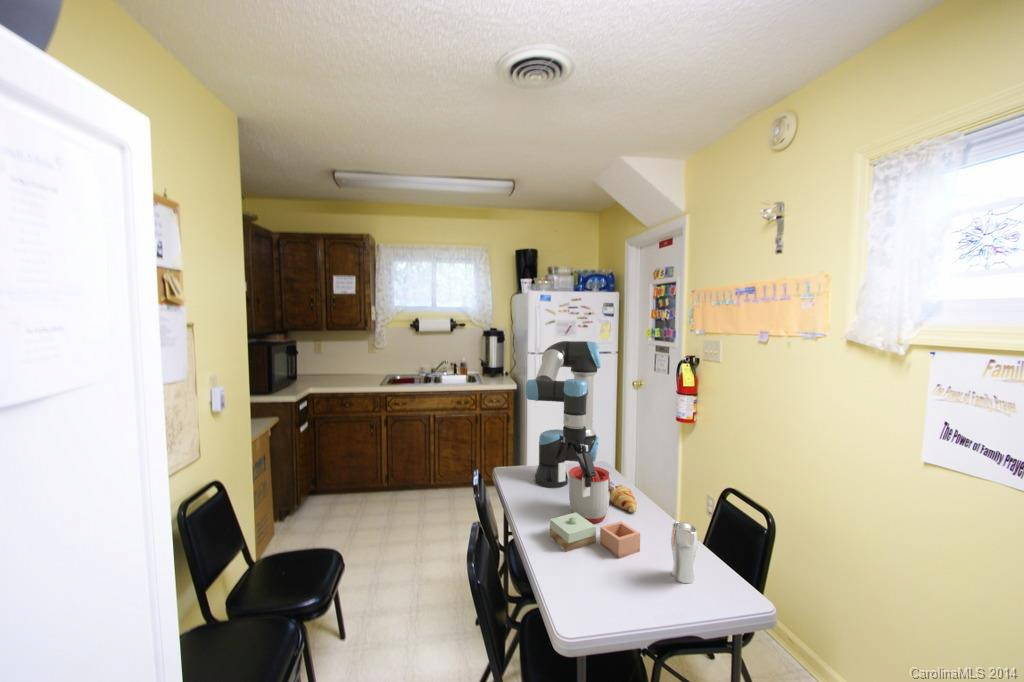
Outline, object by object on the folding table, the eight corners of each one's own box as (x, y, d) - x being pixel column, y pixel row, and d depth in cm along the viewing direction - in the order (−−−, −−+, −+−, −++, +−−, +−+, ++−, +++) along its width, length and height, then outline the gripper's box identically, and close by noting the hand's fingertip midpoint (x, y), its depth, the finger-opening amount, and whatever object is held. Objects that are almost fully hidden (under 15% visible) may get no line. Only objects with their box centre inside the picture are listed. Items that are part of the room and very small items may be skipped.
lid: (549, 527, 142) (550, 515, 142) (575, 520, 148) (576, 509, 147) (568, 543, 133) (568, 530, 132) (595, 535, 138) (596, 522, 138)
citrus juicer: (615, 529, 147) (616, 475, 146) (566, 524, 151) (567, 470, 149) (613, 509, 163) (615, 460, 161) (569, 505, 166) (570, 456, 165)
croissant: (640, 523, 159) (650, 504, 160) (620, 513, 157) (629, 494, 157) (614, 498, 180) (623, 481, 180) (596, 489, 177) (604, 472, 178)
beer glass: (674, 566, 126) (676, 518, 125) (698, 576, 121) (700, 526, 120) (666, 577, 120) (668, 527, 120) (691, 587, 116) (693, 536, 115)
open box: (599, 544, 138) (600, 527, 137) (620, 538, 142) (620, 521, 141) (618, 558, 130) (619, 540, 129) (639, 551, 134) (640, 533, 134)
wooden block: (549, 537, 142) (549, 528, 142) (577, 529, 148) (577, 520, 147) (566, 551, 133) (566, 542, 133) (595, 542, 139) (595, 534, 139)
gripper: (544, 418, 147) (543, 477, 148) (589, 436, 125) (587, 505, 126) (562, 416, 151) (561, 474, 152) (608, 433, 129) (606, 500, 130)
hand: (573, 488), depth 139 cm, fingers open, 13 cm apart
